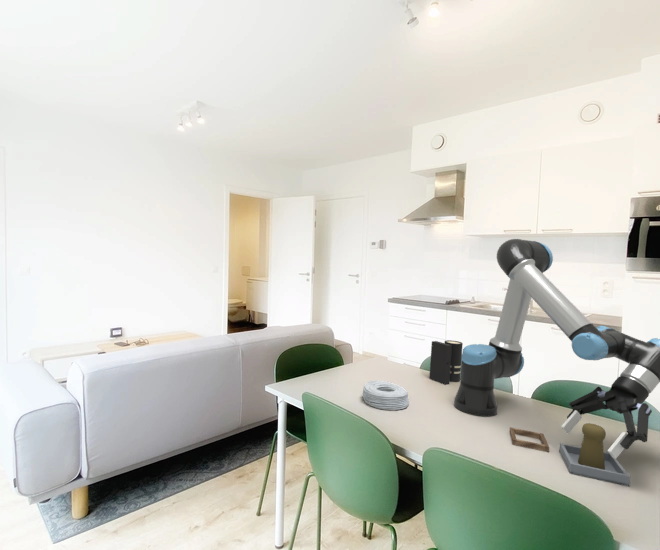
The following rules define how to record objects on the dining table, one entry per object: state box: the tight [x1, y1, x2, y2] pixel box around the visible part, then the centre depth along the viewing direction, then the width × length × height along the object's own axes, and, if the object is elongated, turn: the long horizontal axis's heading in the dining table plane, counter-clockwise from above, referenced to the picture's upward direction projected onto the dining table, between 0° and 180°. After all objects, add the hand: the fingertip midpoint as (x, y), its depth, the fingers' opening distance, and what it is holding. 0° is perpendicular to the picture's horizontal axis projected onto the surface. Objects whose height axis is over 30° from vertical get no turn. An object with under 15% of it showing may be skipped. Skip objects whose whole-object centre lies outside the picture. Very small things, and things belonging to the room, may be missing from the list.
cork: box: [578, 422, 607, 470], centre depth 98 cm, size 6×6×11 cm
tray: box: [558, 442, 631, 487], centre depth 98 cm, size 13×13×2 cm
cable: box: [362, 379, 410, 411], centre depth 138 cm, size 18×18×6 cm
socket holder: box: [509, 427, 550, 453], centre depth 112 cm, size 10×10×2 cm
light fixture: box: [428, 339, 463, 386], centre depth 171 cm, size 10×14×18 cm
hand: (586, 441), depth 98 cm, fingers open, 13 cm apart
